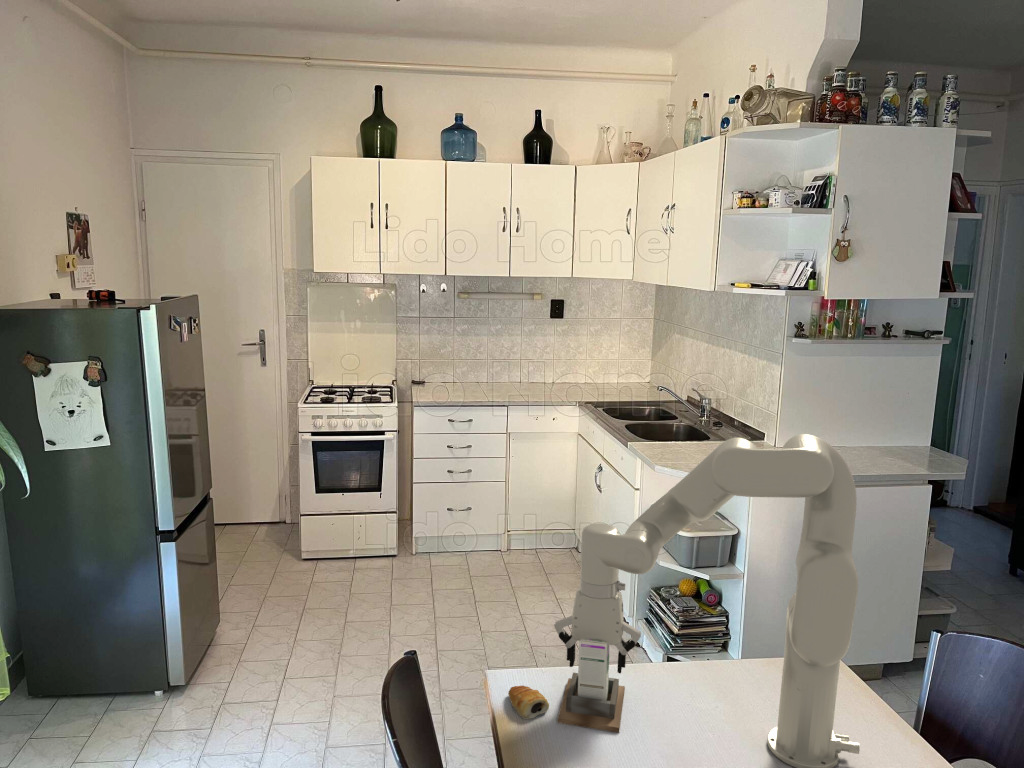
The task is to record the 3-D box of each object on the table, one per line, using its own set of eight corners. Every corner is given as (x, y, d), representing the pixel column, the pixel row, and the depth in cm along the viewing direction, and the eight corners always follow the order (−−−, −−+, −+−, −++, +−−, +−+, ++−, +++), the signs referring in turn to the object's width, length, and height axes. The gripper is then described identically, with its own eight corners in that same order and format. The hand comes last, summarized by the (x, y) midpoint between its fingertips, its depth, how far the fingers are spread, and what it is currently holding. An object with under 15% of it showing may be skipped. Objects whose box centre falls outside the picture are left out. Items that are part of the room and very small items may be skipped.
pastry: (500, 698, 156) (500, 681, 155) (527, 690, 159) (528, 673, 159) (524, 722, 148) (525, 704, 147) (552, 713, 151) (553, 695, 151)
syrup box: (605, 711, 150) (609, 643, 148) (575, 707, 151) (579, 639, 149) (608, 696, 156) (611, 630, 153) (579, 692, 157) (582, 626, 155)
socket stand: (624, 690, 160) (625, 673, 159) (619, 732, 145) (620, 713, 145) (568, 682, 162) (569, 665, 162) (557, 722, 148) (558, 704, 147)
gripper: (643, 583, 152) (640, 663, 154) (558, 574, 155) (556, 652, 158) (642, 599, 144) (638, 682, 147) (552, 589, 148) (550, 670, 151)
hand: (595, 666), depth 152 cm, fingers open, 9 cm apart
